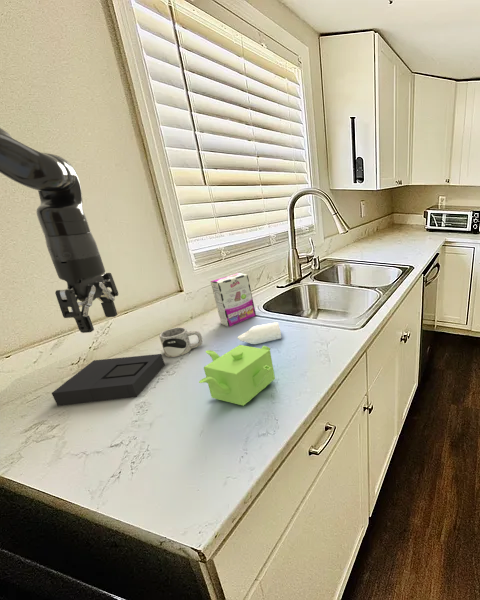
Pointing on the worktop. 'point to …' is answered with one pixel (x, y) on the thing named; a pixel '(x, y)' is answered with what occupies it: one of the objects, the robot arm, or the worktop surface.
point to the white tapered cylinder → (261, 333)
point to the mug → (178, 341)
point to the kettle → (239, 373)
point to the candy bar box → (233, 299)
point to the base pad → (108, 381)
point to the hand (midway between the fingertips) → (100, 323)
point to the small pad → (125, 371)
